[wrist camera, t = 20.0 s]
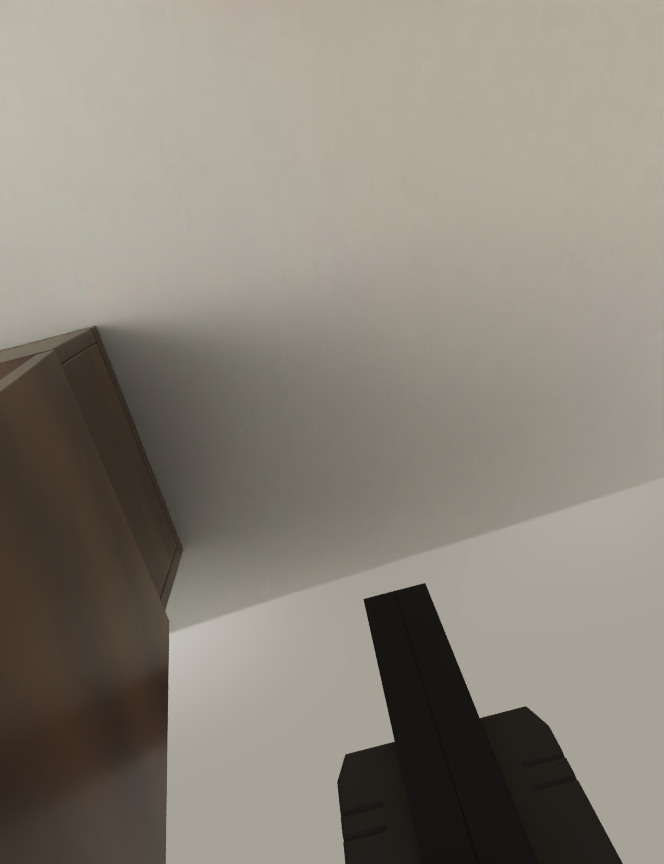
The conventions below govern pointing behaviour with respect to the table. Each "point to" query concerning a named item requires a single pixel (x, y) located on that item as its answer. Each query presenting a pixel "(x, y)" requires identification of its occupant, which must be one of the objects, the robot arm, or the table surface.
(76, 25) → the table surface
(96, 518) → the chest lid
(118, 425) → the chest
